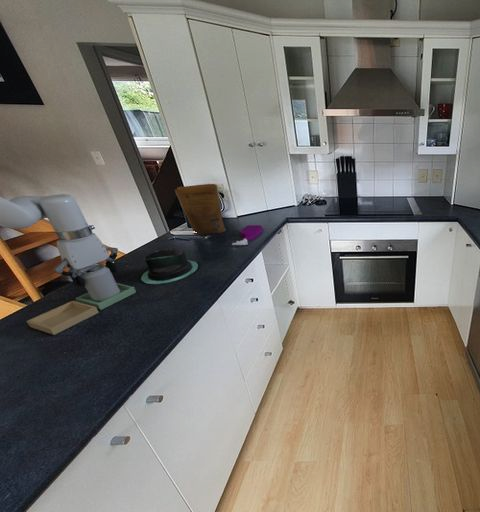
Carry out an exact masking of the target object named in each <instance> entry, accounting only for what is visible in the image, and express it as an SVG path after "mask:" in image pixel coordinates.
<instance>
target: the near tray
mask: <svg viewBox="0 0 480 512" xmlns="http://www.w3.org/2000/svg"><path fill="white" fill-rule="evenodd" d="M97 314H100V312H99V309H97V308H96V307H94V306H91V305H87V304H84V303H80V302H77V300H71V301H69V302H66V303H65V304H62V305H60V306H58V307H55V308H53V309H50V310H48V311H46V312H44V313H41V314H39V315H37V316H34V317H32V318H30V319H27V320H26V323H27V324H28V326H29V327H30V328H33V329H35V330H38V331H41V332H44V333H47V334H50V335H52V336H55V335H57V334H59V333H62V332H63V331H66V330H67V329H69V328H71V327H73V326H76V325H78V324H79V323H81V322H84V321H85V320H88V319H89V318H91V317H93V316H95V315H97Z"/></svg>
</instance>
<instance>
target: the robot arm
mask: <svg viewBox="0 0 480 512" xmlns="http://www.w3.org/2000/svg"><path fill="white" fill-rule="evenodd" d="M44 219H47V220H48V222H49V223H50V225H51V227H52V229H53V230H54V233H55V234H56V236H57V238H58V240H56V247H57V250H58V253H59V256H60V258H61V260H60V262H58V263H57V264H56V265H55V266H54V267H53V268H52V271H53V272H55V273H57V274H59V275H62V276H66V277H70V279H71V281H72V283H73V284H74V286H78V287H83V288H84V287H85V284H84V282H83V280H82V278H81V276H80V275H79V274H80V271H81V270H83V269H85V268H87V267H90V266H94V265H98V264H100V263H103V262H105V264H104V265H105V267H107V268H109V270H110V272H111V274H118V267H117V266H116V263H115V262H116V259H117V257H118V251H119V249H118V247H111V246H105V245H104V243H103V242H102V241H101V239H100V238H99V236H98V235H97V234H96V233H94V232H93V230H95V229H96V227H95V225H93V224H91V225H89V224H88V221H87V219H86V218H85V215H84V213H83V212H82V209H81V207H80V205H79V203H78V200H77V199H76V198H75V197H74V196H73V195H71V194H66V193H62V194H60V193H59V194H52V195H51V194H50V195H20V196H15V197H13V198H11V199H9V200H8V199H6V198H4V197H1V196H0V227H2V228H7V229H12V230H23V229H28V228H31V227H32V226H34V225H35V224H36V223H38V222H40V221H42V220H44ZM109 252H110V254H109ZM64 268H67V269H68V271H66V270H64Z"/></svg>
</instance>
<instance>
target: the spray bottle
mask: <svg viewBox="0 0 480 512" xmlns="http://www.w3.org/2000/svg"><path fill="white" fill-rule="evenodd" d="M263 229H264V227H263V226H262V225H261V224H259V225H258V224H251V225H250V224H249V225H246V226H244V228H242V229H241V231H239V236H240V237H242V238H241V240H236V241H235V242H233V243H231V245H232V246H247V245H249V243H248V242H250V241H252V240H254V239H256V238H258V236H260V235H261V233H262V232H263Z"/></svg>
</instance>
